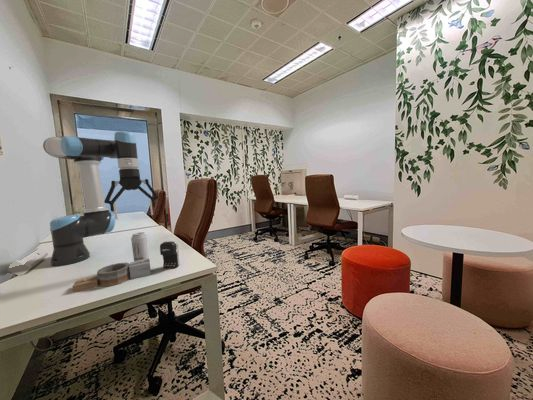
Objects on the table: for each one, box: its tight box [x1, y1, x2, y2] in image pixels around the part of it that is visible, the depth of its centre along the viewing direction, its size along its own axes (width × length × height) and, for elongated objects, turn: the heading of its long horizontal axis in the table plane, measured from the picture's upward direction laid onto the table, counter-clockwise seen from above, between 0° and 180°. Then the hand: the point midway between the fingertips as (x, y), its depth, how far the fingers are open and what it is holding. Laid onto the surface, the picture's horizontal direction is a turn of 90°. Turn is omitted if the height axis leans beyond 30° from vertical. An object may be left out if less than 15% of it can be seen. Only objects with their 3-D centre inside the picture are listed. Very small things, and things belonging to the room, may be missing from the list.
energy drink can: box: [130, 232, 150, 262], centre depth 99 cm, size 6×6×15 cm
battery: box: [159, 240, 180, 269], centre depth 94 cm, size 7×4×11 cm, turn 81°
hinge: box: [72, 258, 152, 294], centre depth 85 cm, size 10×24×5 cm, turn 119°
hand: (135, 216), depth 97 cm, fingers open, 13 cm apart
